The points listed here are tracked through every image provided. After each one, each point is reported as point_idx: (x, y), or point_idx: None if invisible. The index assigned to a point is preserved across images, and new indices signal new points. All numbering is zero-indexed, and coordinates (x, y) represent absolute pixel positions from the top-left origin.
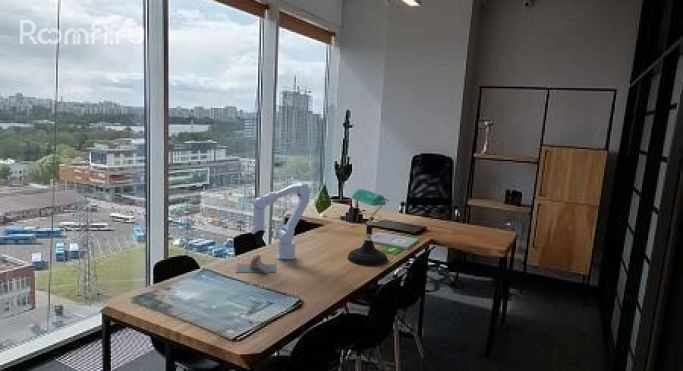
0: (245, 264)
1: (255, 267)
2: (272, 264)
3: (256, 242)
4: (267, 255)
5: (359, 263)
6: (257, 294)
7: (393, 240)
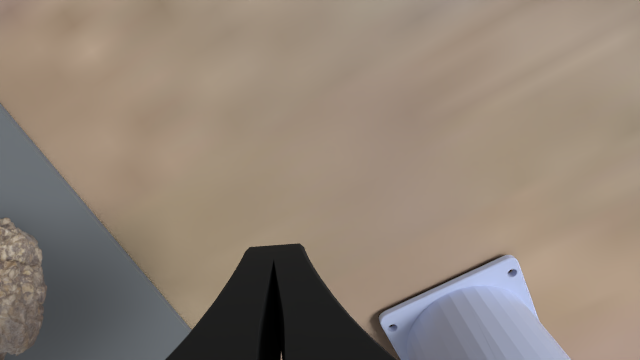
0: (3, 124)
1: None
2: None
3: (240, 262)
4: (466, 166)
5: None
6: None
7: None
